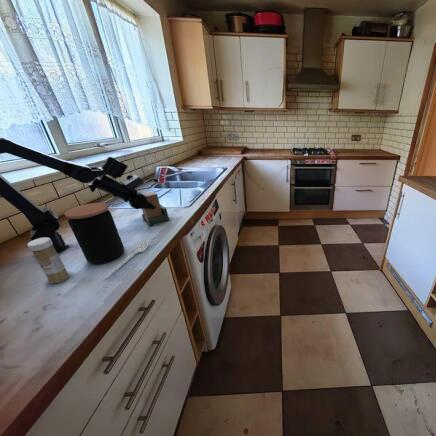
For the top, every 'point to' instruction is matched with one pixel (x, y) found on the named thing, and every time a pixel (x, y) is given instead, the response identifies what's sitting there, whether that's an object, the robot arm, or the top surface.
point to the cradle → (158, 219)
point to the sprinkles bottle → (48, 259)
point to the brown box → (153, 200)
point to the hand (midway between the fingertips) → (151, 205)
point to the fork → (130, 257)
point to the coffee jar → (95, 232)
